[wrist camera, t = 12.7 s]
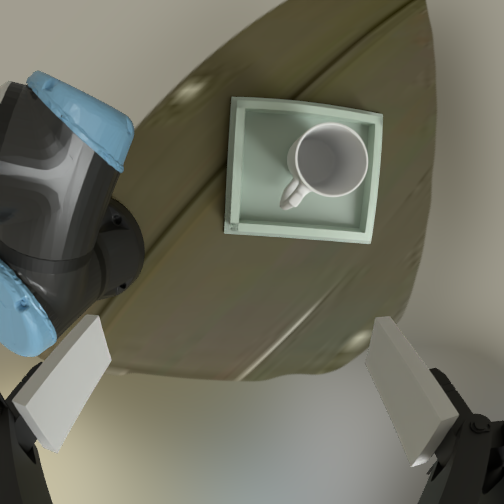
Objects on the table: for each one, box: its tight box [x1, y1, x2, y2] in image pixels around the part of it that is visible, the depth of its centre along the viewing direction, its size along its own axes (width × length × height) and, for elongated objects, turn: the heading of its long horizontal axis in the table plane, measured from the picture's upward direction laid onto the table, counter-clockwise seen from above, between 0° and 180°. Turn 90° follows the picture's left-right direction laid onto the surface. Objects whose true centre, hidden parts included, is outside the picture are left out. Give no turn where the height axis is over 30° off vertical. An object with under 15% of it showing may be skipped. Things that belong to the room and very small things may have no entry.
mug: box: [280, 122, 368, 210], centre depth 30 cm, size 10×7×12 cm, turn 141°
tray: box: [224, 97, 383, 244], centre depth 35 cm, size 20×18×3 cm
